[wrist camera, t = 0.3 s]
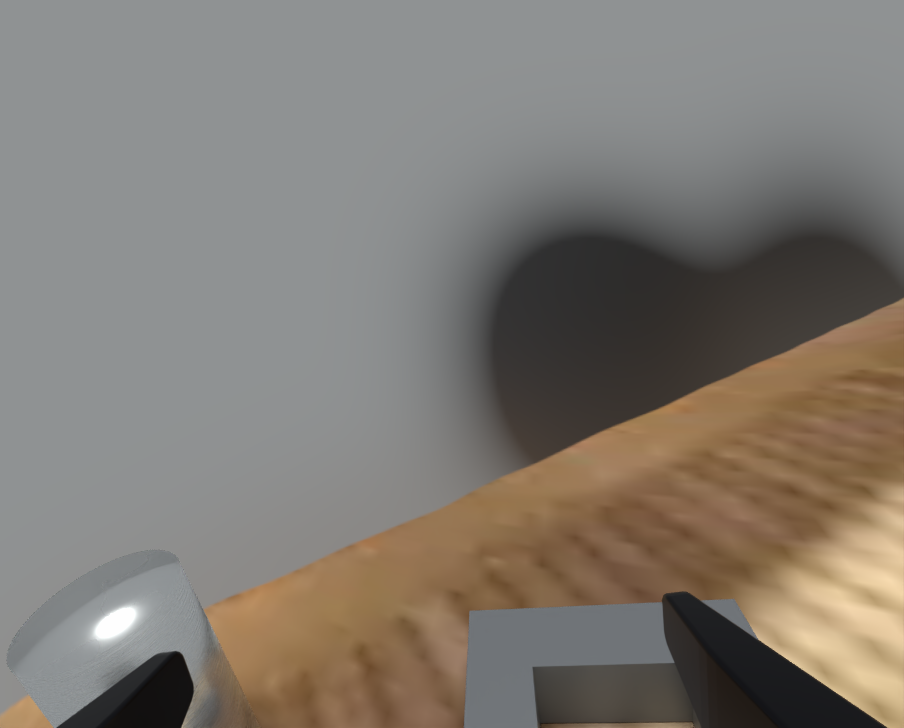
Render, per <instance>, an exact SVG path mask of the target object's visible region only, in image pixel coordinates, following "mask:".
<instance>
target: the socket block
mask: <svg viewBox="0 0 904 728" xmlns="http://www.w3.org/2000/svg"><path fill="white" fill-rule="evenodd" d="M702 602H703V603H705V604H706V605H708V606H709V607H711V608H712V609H714V610H715V611H717V612H718V613H720V614H721V615H722V616H724V617H725V618H727V619H728V620H730V621H731V622H733V623H734V624H736V625H737V626H739V627H740V628H742V629H743V630H745V631H746V632H747V633H749V634H750V635H752V636H753V637H755V638H756V639H758V638H757V637H756V635H755V633H754V632H753V630H752V628H751V627H750V625H749V623H748V622H747V620H746V618H745V617H744V615H743V613H742V612H741V610H740V608H739V607H738V605H737V603H736V602H735V600H734V599H726V600H704V601H702ZM606 722H693V724H694V726H695V728H701V726H700V723H699V721H698V718H697V716H696V714H695V711H694V709H693V706H692V704H691V701H690V699H689V697H688V694H687V692H686V689H685V687H684V685H683V682H682V680H681V677H680V675H679V673H678V670H677V668H676V665H675V663H674V660H673V658H672V656H671V653H670V651H669V648H668V646H667V643H666V639H665V635H664V624H663V608H662V602H659V603H637V604H615V605H592V606H570V607H548V608H525V609H503V610H481V611H470V615H469V635H468V656H467V676H466V696H465V716H464V728H541V727H540V723H606Z"/></svg>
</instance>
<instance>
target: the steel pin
mask: <svg viewBox="0 0 904 728" xmlns="http://www.w3.org/2000/svg"><path fill="white" fill-rule="evenodd" d="M171 651H179V652H181V653H182V654H183V656H184V658H185V661H186V664H187V667H188V669H189V672H190V675H191V678H192V681H193V684H194V694H193V698H192V702H191V704H190V707H189V709H188V712H187V714H186V717H185V719H184V722H183V725H182V727H181V728H261V727H260V724H259V722H258V720H257V718H256V716H255V714H254V712H253V710H252V708H251V706H250V704H249V702H248V700H247V698H246V696H245V694H244V692H243V690H242V688H241V686H240V684H239V682H238V680H237V678H236V676H235V673H234V671H233V669H232V667H231V665H230V663H229V661H228V659H227V657H226V655H225V653H224V651H223V649H222V647H221V645H220V643H219V641H218V639H217V637H216V635H215V633H214V631H213V629H212V627H211V625H210V622H209V620H208V618H207V616H206V614H205V612H204V610H203V608H202V606H201V604H200V602H199V600H198V598H197V596H196V594H195V592H194V590H193V588H192V586H191V584H190V582H189V580H188V578H187V576H186V574H185V572H184V569H183V568H182V566H181V563H180V561H179V559H178V558H177V557H176V555H175V554H173V553H171V552H169V551H165V550H147V551H141V552H137V553H133V554H129V555H126V556H123V557H120V558H118V559H115V560H113V561H110V562H108V563H106V564H104V565H102V566H99V567H98V568H96V569H94V570H92V571H90V572H88V573H87V574H85V575H83V576H81V577H80V578H78V579H76V580H75V581H74V582H72V583H70V584H69V585H67V586H66V587H64V588H63V589H62V590H60V591H59V592H58V593H56V594H55V595H54V596H52V597H51V598H50V599H49V600H48V601H46V602H45V603H44V604H43V605H42V606H41V607H40V608H39V609H38V610H37V611H36V612H34V613H33V615H31V617H30V618H29V619H28V620H27V621H26V622H25V623H24V624H23V626H22V627H21V628H20V630H19V631H18V632H17V634H16V636H15V637H14V639H13V640H12V643H11V644H10V647H9V649H8V653H7V665H8V667H9V669H10V670H11V671H12V673H13V674H14V675H15V676H16V678H17V679H18V681H19V682H20V683H21V685H22V686H23V687H24V689H25V690H26V691H27V693H28V694H29V695H30V697H31V698H32V699H33V701H34V702H35V703H36V705H37V706H38V707H39V709H40V710H41V711H42V713H43V714H44V715H45V717H46V718H47V719H48V721H49V722H50V723H51V725H52V726H53V727H54V728H56V727H58V726H59V725H60V724H62V723H63V722H64V721H66V720H67V719H68V718H70V717H71V716H73V715H74V714H75V713H77V712H78V711H79V710H81V709H82V708H83V707H85V706H86V705H87V704H89V703H90V702H91V701H93V700H94V699H96V698H97V697H98V696H100V695H101V694H102V693H104V692H105V691H106V690H108V689H109V688H110V687H112V686H113V685H114V684H116V683H117V682H119V681H120V680H121V679H123V678H124V677H125V676H127V675H128V674H129V673H131V672H132V671H133V670H135V669H136V668H137V667H139V666H140V665H142V664H143V663H144V662H146V661H147V660H148V659H150V658H151V657H152V656H154V655H156V654H158V653H162V652H171Z"/></svg>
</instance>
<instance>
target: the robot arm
mask: <svg viewBox="0 0 904 728" xmlns="http://www.w3.org/2000/svg"><path fill="white" fill-rule="evenodd" d="M662 608H663V624H664V635H665V639H666V643H667V646H668V648H669V651H670V653H671V656H672V658H673V660H674V663H675V665H676V668H677V670H678V673H679V675H680V677H681V680H682V682H683V685H684V687H685V689H686V692H687V694H688V697H689V699H690V701H691V704H692V706H693V709H694V711H695V714H696V716H697V718H698V721H699V723H700V726H701V728H887V727H886V726H884V725H883V724H881V723H880V722H878V721H877V720H876V719H874V718H873V717H871V716H870V715H868V714H867V713H865V712H864V711H862V710H861V709H859V708H858V707H856V706H855V705H853V704H852V703H850V702H849V701H848V700H846V699H845V698H843V697H842V696H840V695H839V694H837V693H836V692H834V691H833V690H831V689H830V688H828V687H827V686H825V685H824V684H823V683H821V682H820V681H818V680H817V679H815V678H814V677H812V676H811V675H809V674H808V673H806V672H805V671H803V670H802V669H800V668H799V667H798V666H796V665H795V664H793V663H792V662H790V661H789V660H787V659H786V658H784V657H783V656H781V655H780V654H778V653H777V652H775V651H774V650H773V649H771V648H770V647H768V646H767V645H765V644H764V643H762V642H761V641H759V640H758V639H756V638H755V637H753V636H752V635H750V634H749V633H747V632H746V631H745V630H743V629H742V628H740V627H739V626H737V625H736V624H734V623H733V622H731V621H730V620H728V619H727V618H725V617H724V616H722V615H721V614H720V613H718V612H717V611H715V610H714V609H712V608H711V607H709V606H708V605H706V604H705V603H703V602H702V601H700V600H699V599H697V598H696V597H695V596H693V595H692V594H690V593H688V592H684V591H682V592H674V593H666V594H664V595H663V598H662ZM193 694H194V684H193V681H192V678H191V675H190V672H189V669H188V667H187V664H186V661H185V658H184V656H183V654H182V653H181V652H179V651H171V652H162V653H158V654H156V655H154V656H152V657H151V658H150V659H148V660H147V661H146V662H144V663H143V664H142V665H140V666H139V667H137V668H136V669H135V670H133V671H132V672H131V673H129V674H128V675H127V676H125V677H124V678H123V679H121V680H120V681H119V682H117V683H116V684H114V685H113V686H112V687H110V688H109V689H108V690H106V691H105V692H104V693H102V694H101V695H100V696H98V697H97V698H96V699H94V700H93V701H91V702H90V703H89V704H87V705H86V706H85V707H83V708H82V709H81V710H79V711H78V712H77V713H75V714H74V715H73V716H71V717H70V718H68V719H67V720H66V721H64V722H63V723H62V724H60V725H59V726H58V727H56V728H181V727H182V725H183V722H184V719H185V717H186V714H187V712H188V709H189V707H190V704H191V702H192V698H193Z"/></svg>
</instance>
